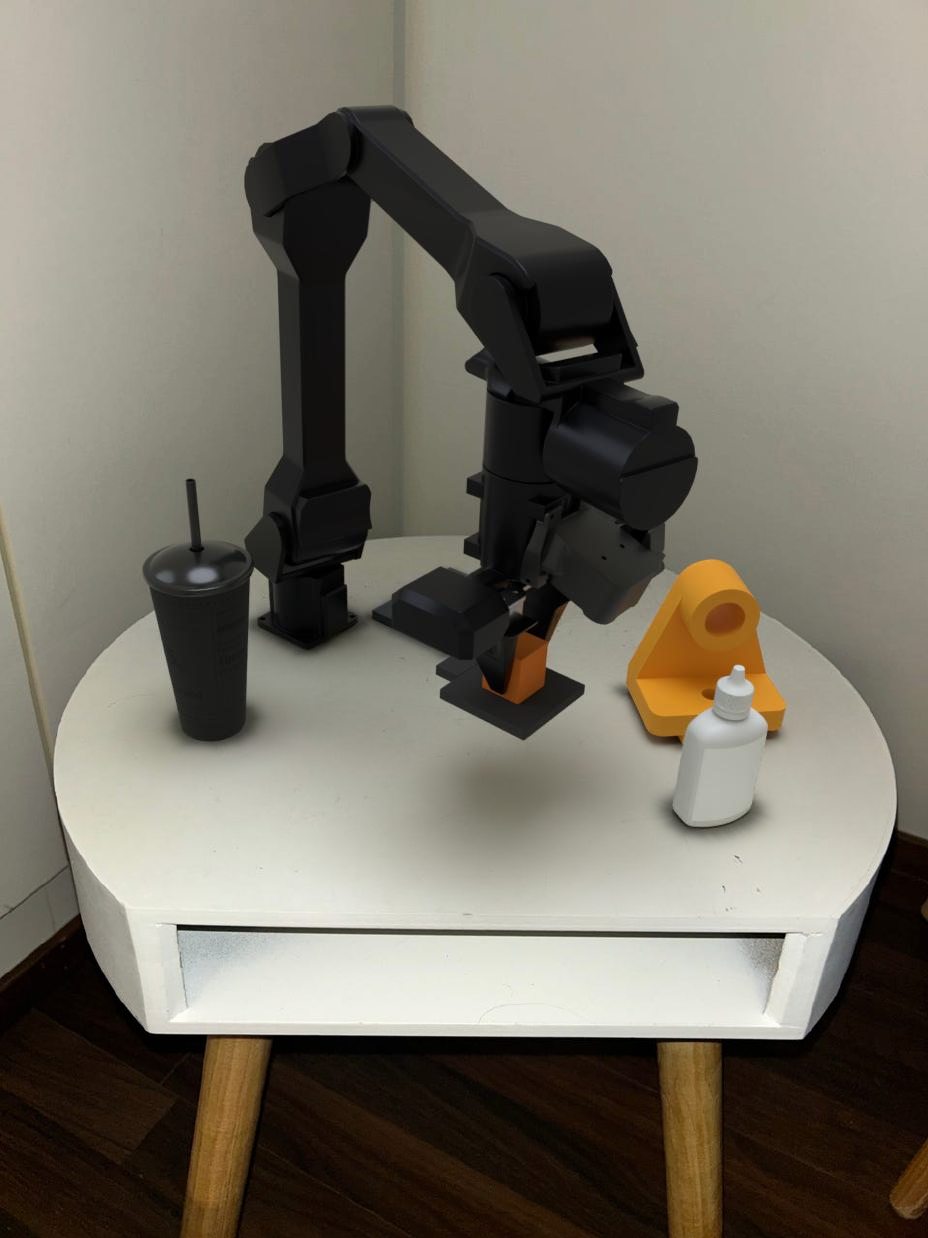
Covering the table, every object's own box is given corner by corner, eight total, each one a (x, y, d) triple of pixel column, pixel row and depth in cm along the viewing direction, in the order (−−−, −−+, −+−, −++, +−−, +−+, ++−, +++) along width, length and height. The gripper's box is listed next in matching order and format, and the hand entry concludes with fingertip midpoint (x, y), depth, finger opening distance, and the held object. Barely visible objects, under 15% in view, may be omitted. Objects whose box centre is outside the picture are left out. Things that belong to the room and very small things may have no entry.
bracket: (649, 745, 84) (670, 609, 78) (624, 691, 90) (642, 561, 84) (783, 738, 85) (814, 604, 79) (750, 685, 91) (777, 557, 85)
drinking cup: (215, 682, 89) (194, 449, 79) (285, 717, 85) (271, 477, 75) (140, 726, 84) (106, 482, 73) (211, 765, 80) (186, 515, 70)
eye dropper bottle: (755, 835, 76) (788, 690, 70) (672, 827, 76) (698, 682, 70) (747, 794, 79) (778, 653, 73) (669, 786, 80) (693, 646, 74)
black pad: (416, 687, 75) (417, 633, 72) (480, 645, 79) (483, 594, 77) (523, 741, 70) (528, 685, 68) (584, 694, 75) (590, 640, 73)
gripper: (551, 562, 55) (528, 803, 63) (725, 457, 68) (688, 669, 76) (385, 496, 61) (384, 725, 69) (574, 411, 73) (555, 612, 82)
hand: (513, 681), depth 74 cm, fingers closed on black pad, 3 cm apart
